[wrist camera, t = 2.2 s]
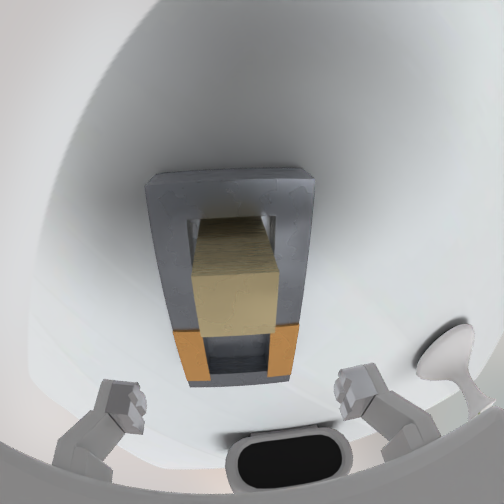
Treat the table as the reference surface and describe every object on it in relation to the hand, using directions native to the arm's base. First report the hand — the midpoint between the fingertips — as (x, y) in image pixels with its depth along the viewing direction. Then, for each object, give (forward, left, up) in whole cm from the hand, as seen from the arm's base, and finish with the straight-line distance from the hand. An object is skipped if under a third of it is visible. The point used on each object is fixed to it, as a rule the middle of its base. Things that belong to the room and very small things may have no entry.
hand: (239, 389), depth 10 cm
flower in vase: (+19, +30, -13) cm, 38 cm away
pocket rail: (+4, 0, -12) cm, 13 cm away
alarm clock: (+39, +7, -13) cm, 42 cm away
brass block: (-1, 0, -11) cm, 11 cm away
